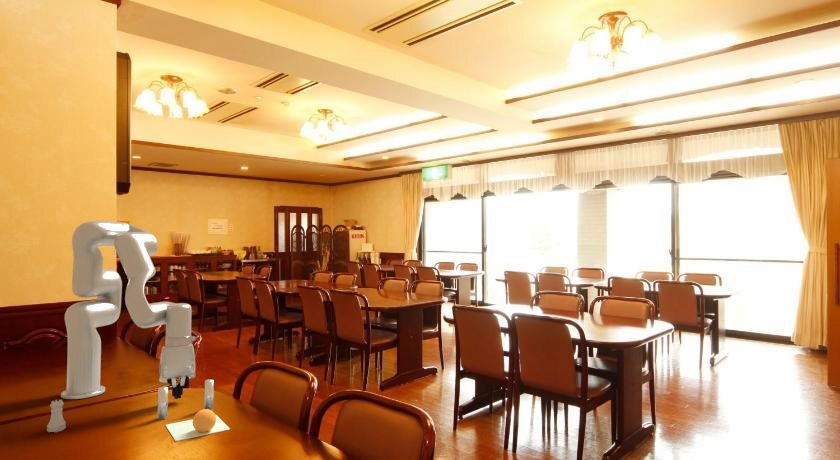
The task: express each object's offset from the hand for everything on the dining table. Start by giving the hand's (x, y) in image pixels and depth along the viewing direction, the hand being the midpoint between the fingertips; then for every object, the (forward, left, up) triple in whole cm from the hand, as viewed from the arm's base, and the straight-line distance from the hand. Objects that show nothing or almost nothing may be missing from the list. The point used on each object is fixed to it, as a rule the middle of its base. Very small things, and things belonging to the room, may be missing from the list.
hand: (177, 397), depth 162 cm
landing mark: (+27, 0, -2) cm, 27 cm away
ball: (+31, +1, +2) cm, 31 cm away
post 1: (+13, -6, -2) cm, 15 cm away
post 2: (+13, +7, -2) cm, 15 cm away
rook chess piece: (+6, -32, -2) cm, 33 cm away
